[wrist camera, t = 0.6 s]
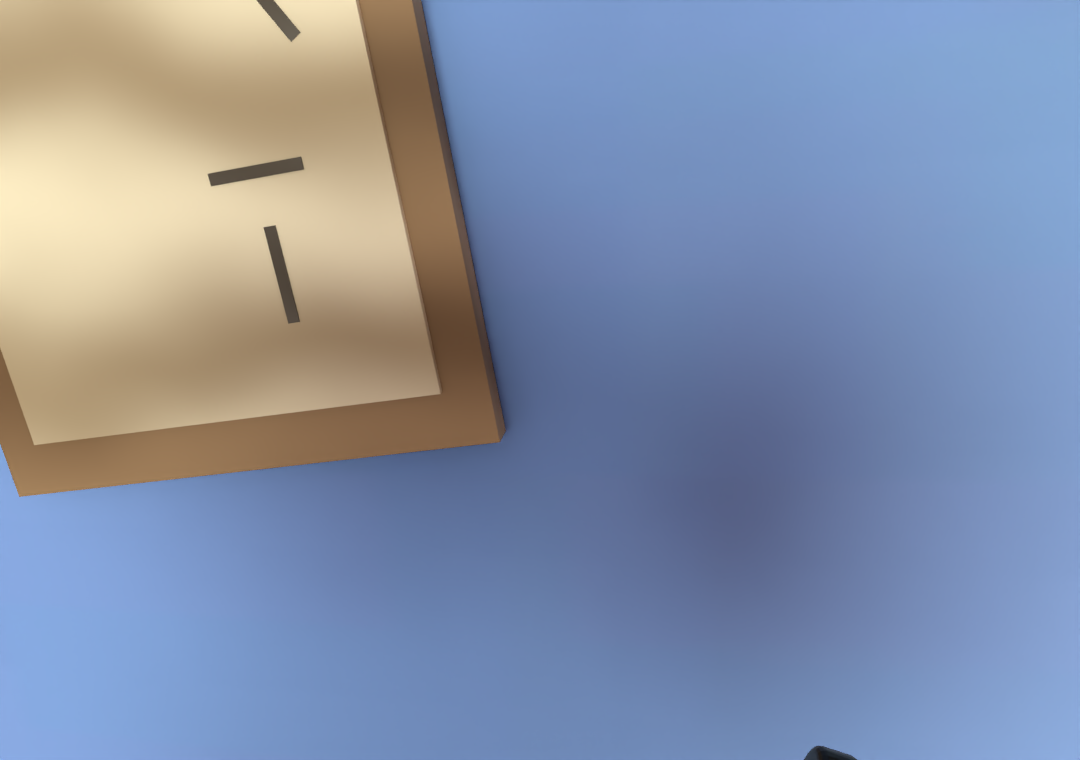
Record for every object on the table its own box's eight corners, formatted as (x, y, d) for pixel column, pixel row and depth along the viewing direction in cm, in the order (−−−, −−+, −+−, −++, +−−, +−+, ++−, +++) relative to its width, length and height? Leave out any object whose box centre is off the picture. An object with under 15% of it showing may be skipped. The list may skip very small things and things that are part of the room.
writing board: (505, 430, 23) (498, 445, 22) (38, 485, 26) (13, 500, 25) (322, -503, 18) (301, -537, 17) (-244, -313, 21) (-290, -333, 20)
